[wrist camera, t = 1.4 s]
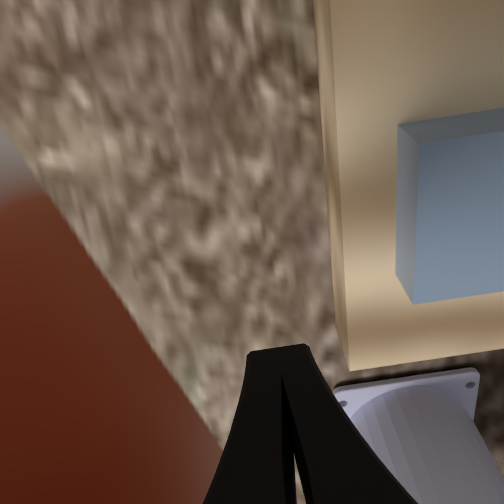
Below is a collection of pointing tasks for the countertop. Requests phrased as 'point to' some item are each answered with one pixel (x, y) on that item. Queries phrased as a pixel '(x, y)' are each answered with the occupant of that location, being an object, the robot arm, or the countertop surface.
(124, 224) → the countertop surface
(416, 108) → the board
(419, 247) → the blue flat block
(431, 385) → the robot arm
